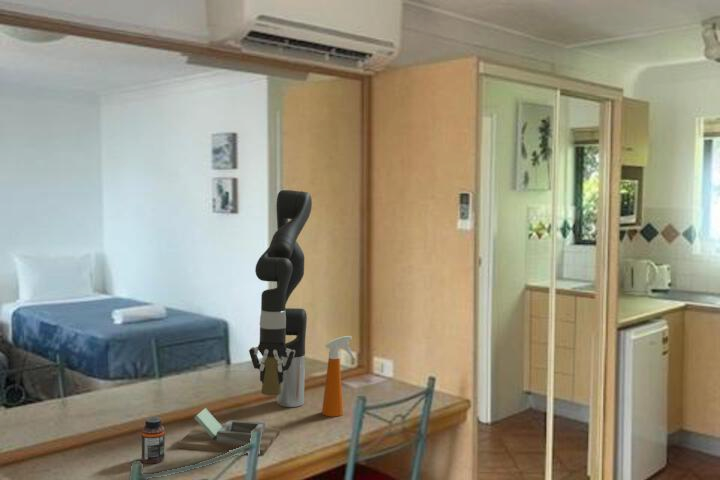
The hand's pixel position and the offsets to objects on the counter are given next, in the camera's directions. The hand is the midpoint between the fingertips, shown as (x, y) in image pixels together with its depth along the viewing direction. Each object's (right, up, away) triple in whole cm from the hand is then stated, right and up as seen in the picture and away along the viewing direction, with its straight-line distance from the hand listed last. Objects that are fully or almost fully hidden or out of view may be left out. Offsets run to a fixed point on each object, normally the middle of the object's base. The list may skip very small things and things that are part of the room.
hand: (271, 383), depth 207 cm
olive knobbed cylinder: (0, -3, 0) cm, 3 cm away
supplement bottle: (-30, -18, -16) cm, 38 cm away
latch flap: (-19, -12, 0) cm, 22 cm away
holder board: (-12, -17, +1) cm, 21 cm away
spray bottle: (+19, -16, +29) cm, 38 cm away
